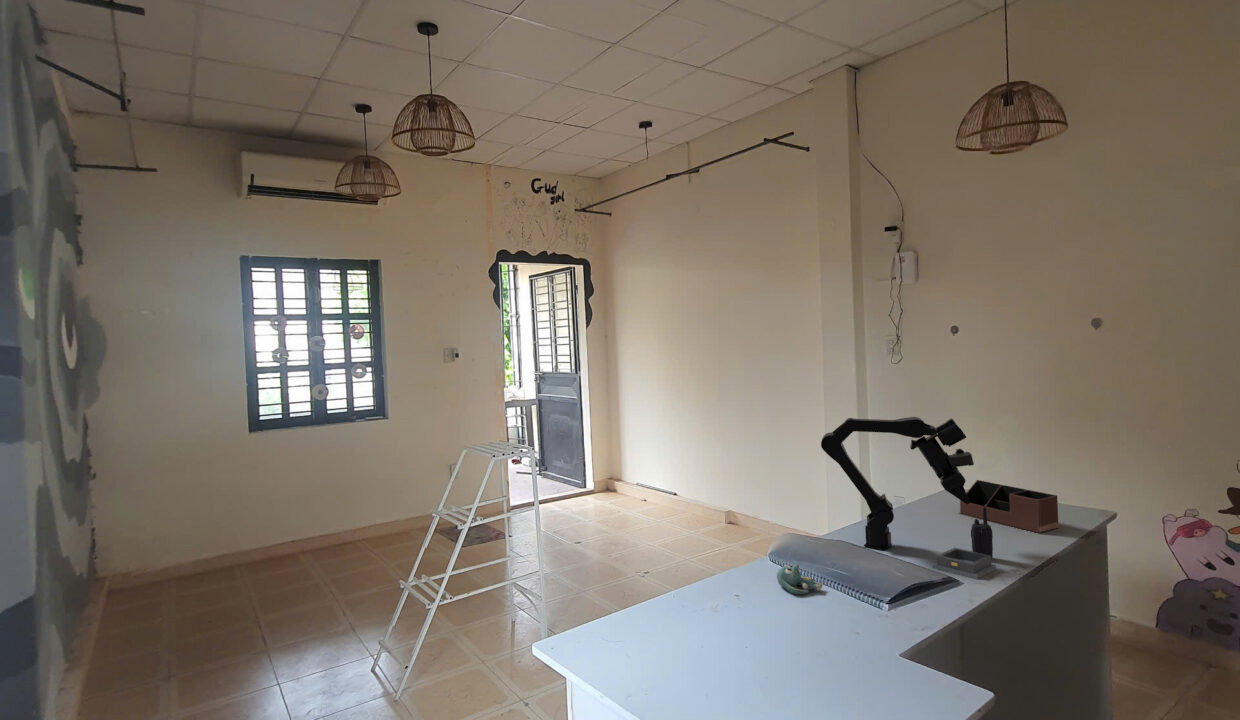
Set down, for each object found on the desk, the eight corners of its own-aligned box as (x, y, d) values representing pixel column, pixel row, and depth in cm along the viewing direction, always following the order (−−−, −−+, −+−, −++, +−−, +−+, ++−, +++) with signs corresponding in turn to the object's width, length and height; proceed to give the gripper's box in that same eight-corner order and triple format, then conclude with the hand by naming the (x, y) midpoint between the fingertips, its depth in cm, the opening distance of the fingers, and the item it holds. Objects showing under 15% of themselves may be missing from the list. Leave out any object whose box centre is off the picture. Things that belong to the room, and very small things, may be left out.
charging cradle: (932, 567, 178) (932, 555, 178) (952, 558, 185) (952, 546, 185) (976, 579, 169) (976, 566, 169) (996, 568, 175) (995, 556, 175)
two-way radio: (991, 556, 184) (989, 505, 184) (996, 562, 180) (994, 509, 180) (970, 556, 186) (968, 505, 185) (974, 561, 181) (972, 509, 181)
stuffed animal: (818, 579, 161) (773, 565, 167) (814, 606, 162) (769, 590, 168) (828, 565, 170) (785, 552, 176) (824, 590, 171) (781, 576, 177)
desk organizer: (1040, 535, 201) (1039, 500, 201) (957, 514, 228) (956, 483, 227) (1061, 529, 205) (1060, 495, 205) (978, 509, 232) (976, 479, 232)
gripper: (964, 446, 180) (998, 494, 178) (955, 436, 197) (986, 479, 195) (928, 465, 184) (961, 513, 181) (922, 453, 201) (952, 496, 199)
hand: (966, 499), depth 189 cm, fingers open, 9 cm apart
